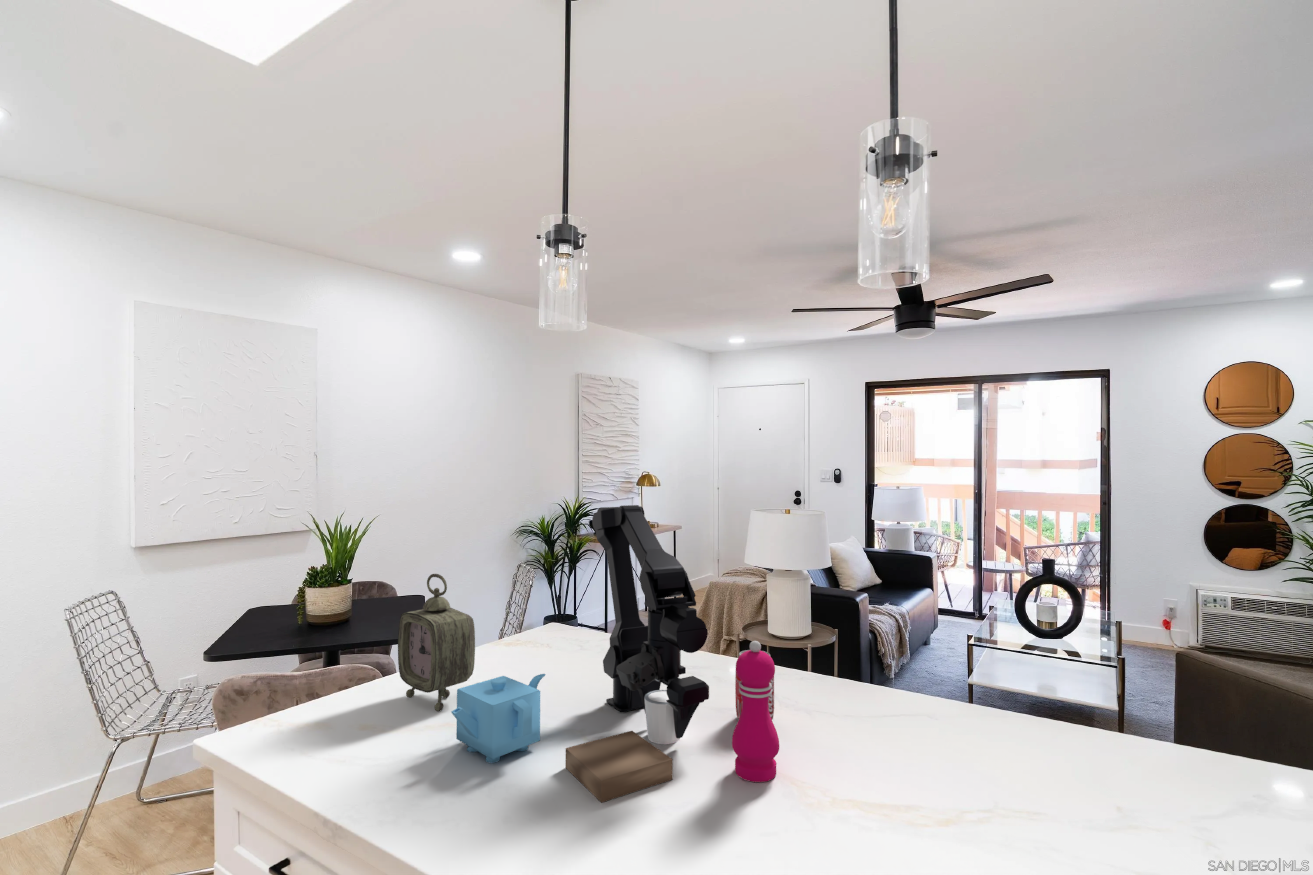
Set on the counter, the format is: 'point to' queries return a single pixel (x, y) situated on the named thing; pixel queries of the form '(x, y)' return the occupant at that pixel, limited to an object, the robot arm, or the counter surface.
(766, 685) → the pepper mill
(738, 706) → the soda can
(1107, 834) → the counter surface
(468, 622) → the tabletop clock
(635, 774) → the walnut base block
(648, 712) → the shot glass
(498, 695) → the teapot
